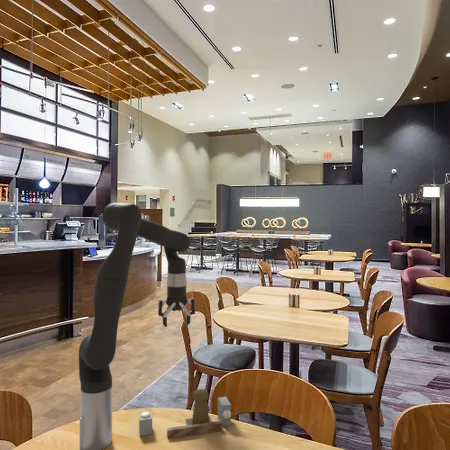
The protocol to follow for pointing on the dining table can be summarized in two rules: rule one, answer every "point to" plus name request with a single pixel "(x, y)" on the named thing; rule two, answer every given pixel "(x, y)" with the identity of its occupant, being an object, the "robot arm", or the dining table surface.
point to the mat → (189, 421)
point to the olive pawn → (200, 407)
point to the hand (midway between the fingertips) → (176, 325)
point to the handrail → (194, 429)
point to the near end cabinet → (145, 423)
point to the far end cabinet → (224, 411)
